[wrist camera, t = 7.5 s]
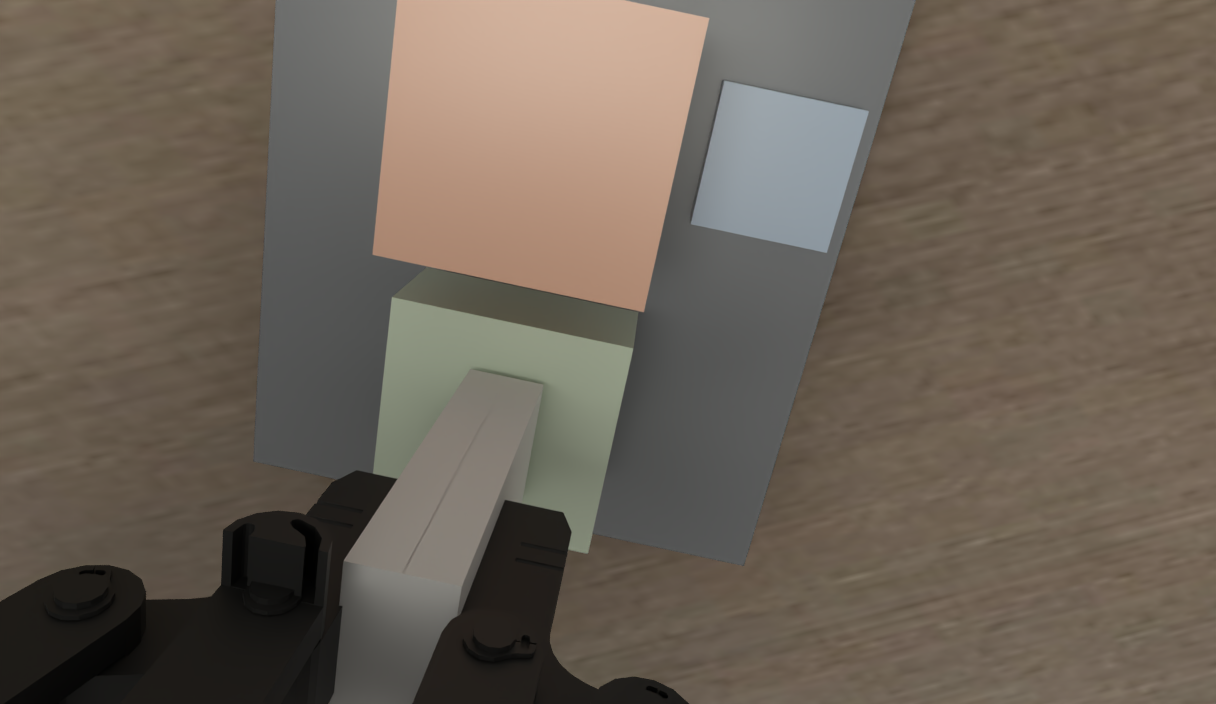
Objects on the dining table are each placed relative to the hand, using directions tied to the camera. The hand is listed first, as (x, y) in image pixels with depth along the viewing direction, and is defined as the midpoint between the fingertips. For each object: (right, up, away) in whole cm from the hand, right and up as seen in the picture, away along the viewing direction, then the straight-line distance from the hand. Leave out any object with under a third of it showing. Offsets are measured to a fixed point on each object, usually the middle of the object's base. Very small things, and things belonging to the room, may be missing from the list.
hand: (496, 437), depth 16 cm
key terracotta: (+1, +7, +1) cm, 7 cm away
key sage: (0, +2, +5) cm, 5 cm away
